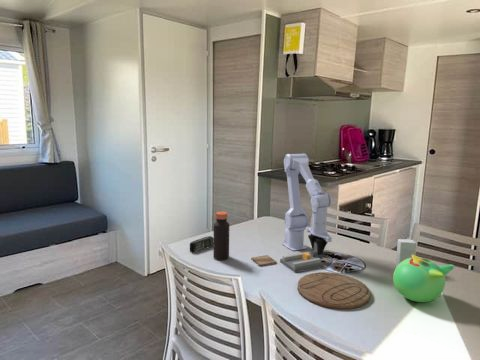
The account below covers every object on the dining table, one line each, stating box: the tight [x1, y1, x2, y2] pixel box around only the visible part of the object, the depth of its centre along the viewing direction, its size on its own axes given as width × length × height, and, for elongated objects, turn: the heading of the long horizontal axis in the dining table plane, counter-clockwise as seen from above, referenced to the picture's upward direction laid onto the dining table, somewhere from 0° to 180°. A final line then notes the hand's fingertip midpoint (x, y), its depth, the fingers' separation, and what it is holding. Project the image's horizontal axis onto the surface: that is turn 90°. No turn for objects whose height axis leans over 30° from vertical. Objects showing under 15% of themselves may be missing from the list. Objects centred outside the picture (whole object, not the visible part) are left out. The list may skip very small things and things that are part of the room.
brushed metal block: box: [312, 241, 324, 260], centre depth 156 cm, size 3×3×7 cm
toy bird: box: [392, 254, 455, 303], centre depth 125 cm, size 18×17×15 cm
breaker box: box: [279, 251, 324, 273], centre depth 153 cm, size 14×11×3 cm
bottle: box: [213, 211, 230, 261], centre depth 158 cm, size 7×7×20 cm
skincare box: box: [395, 238, 417, 268], centre depth 150 cm, size 6×4×12 cm
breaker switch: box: [302, 251, 312, 260], centre depth 154 cm, size 2×3×2 cm, turn 25°
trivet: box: [297, 271, 371, 311], centre depth 131 cm, size 25×25×2 cm
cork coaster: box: [250, 254, 278, 267], centre depth 156 cm, size 8×8×1 cm
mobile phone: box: [189, 235, 214, 254], centre depth 170 cm, size 5×3×15 cm
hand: (317, 252), depth 156 cm, fingers closed on brushed metal block, 3 cm apart
